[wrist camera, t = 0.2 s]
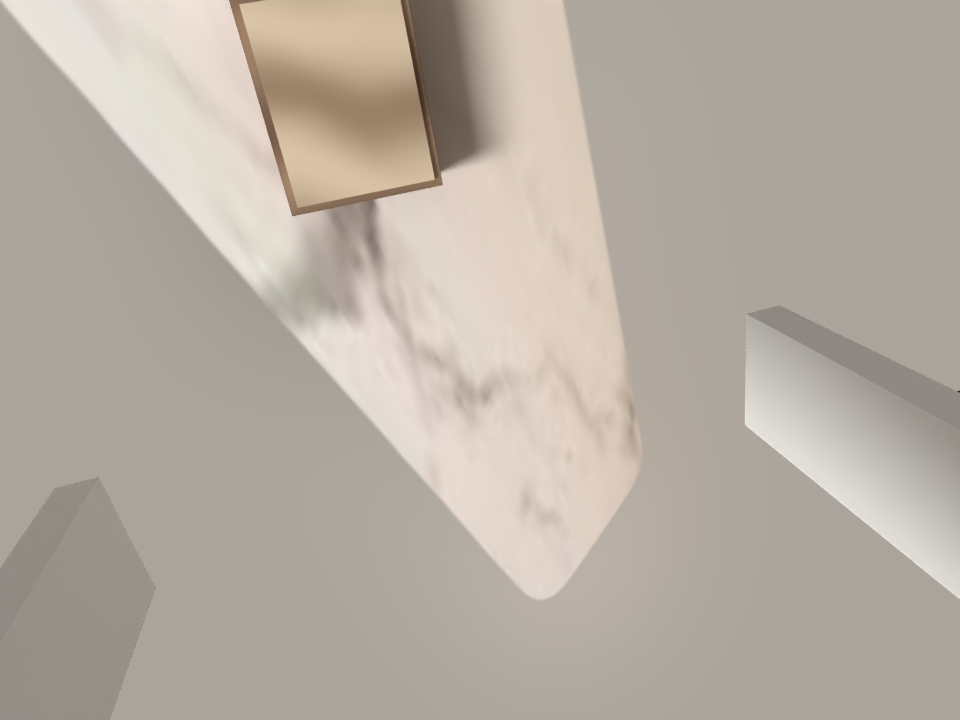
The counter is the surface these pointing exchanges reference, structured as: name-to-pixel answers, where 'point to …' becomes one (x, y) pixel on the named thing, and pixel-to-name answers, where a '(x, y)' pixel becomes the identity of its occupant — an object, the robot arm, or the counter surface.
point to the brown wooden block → (340, 98)
